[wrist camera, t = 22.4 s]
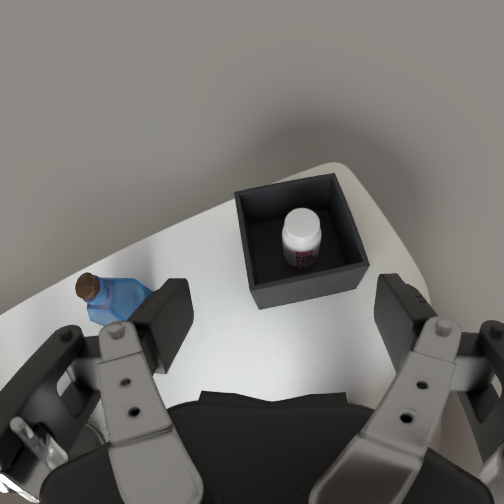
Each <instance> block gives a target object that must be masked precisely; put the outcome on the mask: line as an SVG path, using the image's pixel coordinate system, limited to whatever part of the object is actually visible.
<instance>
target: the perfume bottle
mask: <svg viewBox="0 0 504 504" xmlns="http://www.w3.org/2000/svg"><path fill="white" fill-rule="evenodd" d="M75 290H76V294H77V296H78V297H80V298H82V299H83V300H84V301H85V302H87V303H88V304H87V311H88V314H89V317H90V320H91V321H93V322H95V323H98V324H100V325H103V326H106V325H108V324H110V323H112V322H116V321H126V320H127V319H128V318H129V317H130V315H131V314H132V313H133V312H134V311H135V310H136V309H137V307H139V305H140V304H141V303H142V302H143V301H144V300H145V298H146V297H147V296H148V295H149V294H151V293H152V291H151V290H150V289H148V288H147V287H145V286H144V285H143V284H141V283H140V282H138V281H137V280H136V279H134V278H99V277H98V276H95V275H92V274H91V273H88V272H87V273H84V274H82V275H81V276H80V277H79V278H78V280H77V283H76V287H75Z"/></svg>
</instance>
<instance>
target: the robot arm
mask: <svg viewBox="0 0 504 504" xmlns="http://www.w3.org/2000/svg"><path fill="white" fill-rule="evenodd" d="M193 319H194V311H193V306H192V300H191V295H190V290H189V284H188V281H187V279H185V278H169V279H168V280H167V281H166V282H165V283H164V284H163V285H162V287H161V288H160V289H157V290H156V291H154V292H152V293H151V294H149V295H148V296H147V297H146V298H145V300H144V301H143V302H142V303H141V304H140V305H139V307H137V309H136V310H135V311H134V312H133V313H132V314H131V315H130V317H129V318H128V319H127V320H126V321H116V322H112V323H110V324H108V325H106V326H104V327H103V328H102V329H101V330H100V332H99V336H89V337H84V335H83V333H82V330H81V328H80V327H79V326H77V325H68V326H65V327H62V328H60V329H58V330H57V331H55V332H54V333H53V334H52V335H51V336H50V337H49V338H48V339H47V340H46V341H45V342H44V343H43V345H42V346H41V347H40V348H39V349H38V350H37V351H36V352H35V353H34V354H33V355H32V356H31V357H30V358H29V359H28V361H27V362H26V363H25V364H24V365H23V366H22V367H21V368H20V369H19V370H18V372H17V373H16V374H15V375H14V376H13V377H12V378H11V380H10V381H9V382H8V383H7V384H6V385H5V387H4V388H3V389H2V390H1V391H0V491H1V492H3V493H17V492H18V493H19V494H20V495H22V496H23V497H25V498H26V499H27V500H29V501H31V502H35V503H37V502H39V504H504V324H503V323H501V322H499V321H493V320H489V321H485V322H484V323H483V324H482V325H481V328H480V331H479V333H466V332H462V329H461V327H460V325H459V324H458V323H457V322H456V321H454V320H452V319H450V318H447V317H442V316H438V315H437V314H436V313H435V311H434V310H433V309H432V307H431V306H430V305H429V304H428V302H426V300H425V298H424V297H422V295H421V293H420V292H419V291H418V290H417V289H416V288H414V287H413V286H411V285H409V284H405V283H404V281H403V280H402V279H401V278H400V276H399V275H398V274H397V273H393V274H380V275H379V277H378V282H377V290H376V298H375V305H374V319H375V323H376V325H377V327H378V330H379V332H380V334H381V337H382V339H383V341H384V344H385V346H386V349H387V351H388V353H389V356H390V358H391V361H392V363H393V366H394V368H395V371H396V374H397V375H396V376H395V378H394V380H393V382H392V383H391V385H390V387H389V389H388V390H387V392H386V394H385V395H384V397H383V398H382V400H381V402H380V403H379V405H378V406H377V408H376V409H375V410H374V409H371V408H369V407H366V406H363V405H359V404H354V403H348V402H347V397H346V392H342V393H327V394H309V395H305V396H300V397H296V398H291V399H286V400H280V401H274V402H271V401H265V400H261V399H256V398H252V397H248V396H244V395H240V394H236V393H222V392H210V391H201V394H200V397H199V400H198V401H190V402H185V403H181V404H178V405H175V406H172V407H170V408H168V409H166V408H165V405H164V403H163V401H162V398H161V396H160V394H159V391H158V389H157V386H156V384H155V382H154V379H153V377H152V376H153V375H154V373H161V374H167V372H168V370H169V368H170V366H171V364H172V362H173V360H174V358H175V356H176V354H177V352H178V351H179V349H180V347H181V345H182V343H183V341H184V339H185V337H186V335H187V333H188V332H189V330H190V328H191V326H192V324H193ZM65 371H66V372H67V373H68V375H69V377H70V379H71V381H72V382H71V383H70V385H69V386H68V387H67V389H66V390H65V392H64V393H63V394H62V396H61V397H60V396H59V395H58V392H57V382H58V380H59V379H60V378H61V376H62V375H63V374H64V372H65ZM495 374H496V376H497V377H498V379H499V381H500V383H501V385H502V394H501V397H500V398H499V396H498V395H497V392H496V390H495V389H494V387H493V385H492V383H491V382H492V380H493V378H494V376H495ZM449 391H457V394H458V396H459V399H460V401H461V404H462V406H463V408H464V411H465V413H466V416H467V418H468V421H469V424H470V426H471V429H472V432H473V435H474V437H475V440H476V443H477V446H478V449H479V452H480V455H481V459H482V462H483V465H482V468H481V470H480V480H479V479H478V478H476V477H475V476H473V475H471V474H469V473H468V472H466V471H465V470H463V469H462V468H460V467H459V466H457V465H455V464H453V463H452V462H451V461H449V460H448V459H446V458H445V457H443V456H442V455H440V454H439V453H437V452H436V451H434V450H433V449H431V448H430V447H428V446H429V444H430V442H431V440H432V437H433V435H434V432H435V430H436V428H437V425H438V422H439V420H440V417H441V414H442V412H443V409H444V406H445V403H446V400H447V397H448V394H449ZM100 398H101V399H102V405H103V411H104V416H105V421H106V426H107V431H108V435H109V439H110V441H108V442H107V443H105V442H104V440H103V438H102V437H101V435H100V434H99V433H98V431H97V430H96V429H95V428H93V427H92V426H91V425H89V424H87V423H86V422H87V421H88V419H89V417H90V415H91V414H92V412H93V410H94V408H95V407H96V405H97V403H98V402H99V400H100Z"/></svg>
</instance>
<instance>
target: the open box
mask: <svg viewBox="0 0 504 504" xmlns="http://www.w3.org/2000/svg"><path fill="white" fill-rule="evenodd" d="M234 194H235V201H236V207H237V214H238V220H239V226H240V233H241V239H242V245H243V252H244V258H245V264H246V270H247V277H248V283H249V289H250V292H251V294H252V296H253V298H254V300H255V302H256V304H257V306H258V308H259V310H260V309H265V308H270V307H275V306H280V305H285V304H290V303H295V302H299V301H304V300H309V299H313V298H318V297H322V296H327V295H331V294H335V293H340V292H344V291H348V290H352V289H356V287H357V286H358V284H359V282H360V281H361V279H362V277H363V276H364V274H365V273H366V271H367V269H368V268H369V266H370V264H369V261H368V258H367V255H366V252H365V250H364V247H363V244H362V241H361V238H360V235H359V233H358V230H357V227H356V225H355V222H354V219H353V217H352V214H351V211H350V209H349V206H348V204H347V201H346V199H345V196H344V194H343V192H342V189H341V187H340V184H339V182H338V180H337V177H336V175H335V173H331V174H325V175H319V176H314V177H308V178H302V179H297V180H291V181H286V182H281V183H276V184H271V185H266V186H261V187H256V188H251V189H246V190H242V191H237V192H235V193H234ZM298 208H306V209H309V210H312V211H313V212H314V213H315V214H316V215H317V216H318V218H319V220H320V229H321V242H320V247H319V253H318V258H317V260H316V262H315V263H314V265H312V266H311V267H309V268H307V269H302V270H299V269H295V268H293V267H291V266H290V265H288V263H287V262H286V260H285V258H284V255H283V242H282V230H283V227H284V223H285V218H286V216H287V215H288V214H289V213H290V212H291V211H292V210H294V209H298Z"/></svg>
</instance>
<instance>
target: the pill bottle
mask: <svg viewBox="0 0 504 504" xmlns="http://www.w3.org/2000/svg"><path fill="white" fill-rule="evenodd" d="M282 242H283V255H284V258H285V260H286V262H287V263H288V265H290V266H291V267H293V268H295V269H299V270H302V269H307V268H309V267H311V266H312V265H314V263H315V262H316V260H317V258H318V253H319V247H320V242H321V229H320V220H319V218H318V216H317V215H316V214H315V213H314V212H313V211H312V210H309V209H306V208H298V209H294V210H292V211H291V212H290V213H289V214H288V215H287V216H286V218H285V223H284V227H283V230H282Z"/></svg>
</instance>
